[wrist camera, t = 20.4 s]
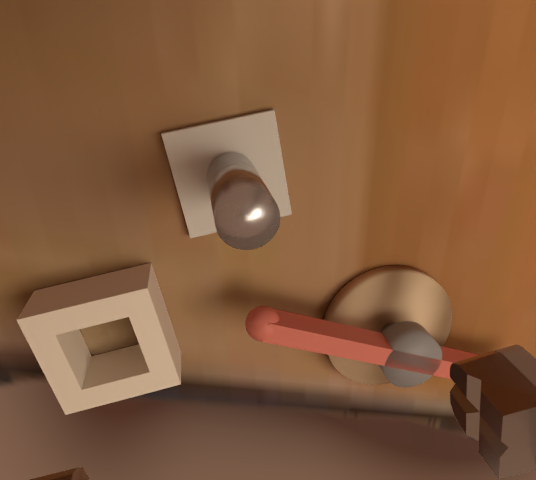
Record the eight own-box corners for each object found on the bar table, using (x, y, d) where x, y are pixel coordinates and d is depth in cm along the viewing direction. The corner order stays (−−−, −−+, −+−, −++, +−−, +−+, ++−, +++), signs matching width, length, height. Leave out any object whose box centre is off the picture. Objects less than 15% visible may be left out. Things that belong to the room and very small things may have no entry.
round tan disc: (443, 250, 39) (464, 266, 36) (444, 355, 44) (461, 376, 41) (313, 283, 38) (324, 302, 35) (329, 387, 43) (339, 411, 40)
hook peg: (238, 141, 31) (258, 175, 23) (264, 182, 32) (291, 227, 24) (196, 169, 31) (201, 212, 23) (224, 208, 33) (238, 261, 25)
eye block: (151, 262, 34) (147, 288, 30) (181, 352, 38) (180, 384, 34) (34, 290, 33) (16, 320, 30) (76, 379, 37) (65, 414, 34)
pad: (272, 109, 31) (274, 110, 31) (290, 211, 34) (291, 214, 34) (161, 132, 30) (161, 134, 30) (190, 235, 34) (190, 238, 33)
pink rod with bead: (255, 282, 33) (260, 301, 30) (538, 350, 41) (560, 369, 39) (233, 337, 34) (237, 358, 32) (510, 391, 43) (529, 411, 40)
